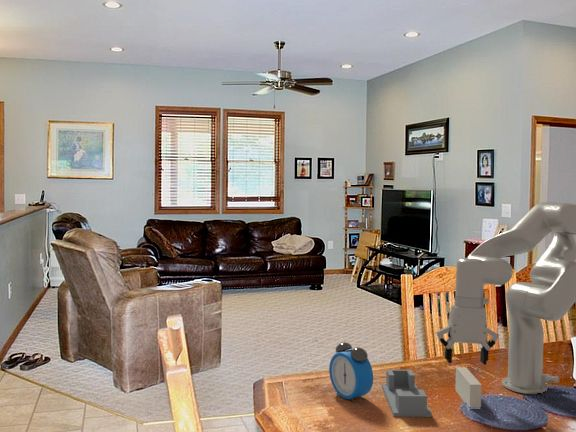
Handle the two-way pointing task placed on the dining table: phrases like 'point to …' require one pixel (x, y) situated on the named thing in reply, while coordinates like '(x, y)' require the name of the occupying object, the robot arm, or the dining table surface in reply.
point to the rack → (405, 395)
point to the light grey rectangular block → (468, 387)
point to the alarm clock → (350, 371)
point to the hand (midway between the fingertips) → (466, 362)
